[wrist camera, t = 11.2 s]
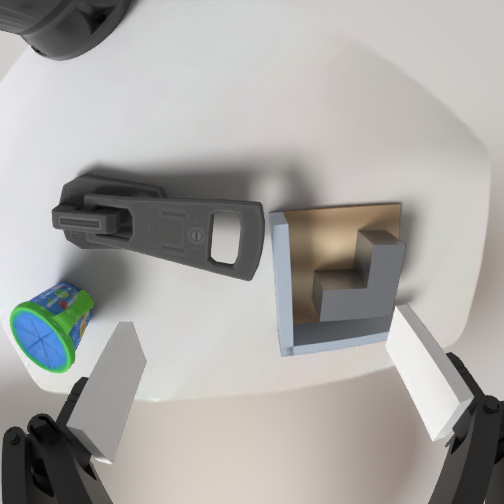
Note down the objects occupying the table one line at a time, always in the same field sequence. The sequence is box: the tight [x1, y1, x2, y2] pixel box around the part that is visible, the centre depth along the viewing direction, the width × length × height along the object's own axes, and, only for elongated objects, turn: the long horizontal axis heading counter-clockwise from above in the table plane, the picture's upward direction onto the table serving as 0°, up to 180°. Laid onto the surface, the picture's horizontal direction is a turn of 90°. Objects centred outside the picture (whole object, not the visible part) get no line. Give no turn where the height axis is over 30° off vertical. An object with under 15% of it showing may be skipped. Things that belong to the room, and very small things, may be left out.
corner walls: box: [269, 212, 393, 357], centre depth 33 cm, size 16×16×5 cm
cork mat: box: [283, 204, 401, 325], centre depth 35 cm, size 15×14×1 cm
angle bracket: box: [311, 230, 406, 322], centre depth 32 cm, size 9×9×5 cm
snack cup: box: [10, 283, 94, 373], centre depth 32 cm, size 16×11×10 cm
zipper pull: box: [52, 175, 265, 281], centre depth 29 cm, size 9×7×25 cm
